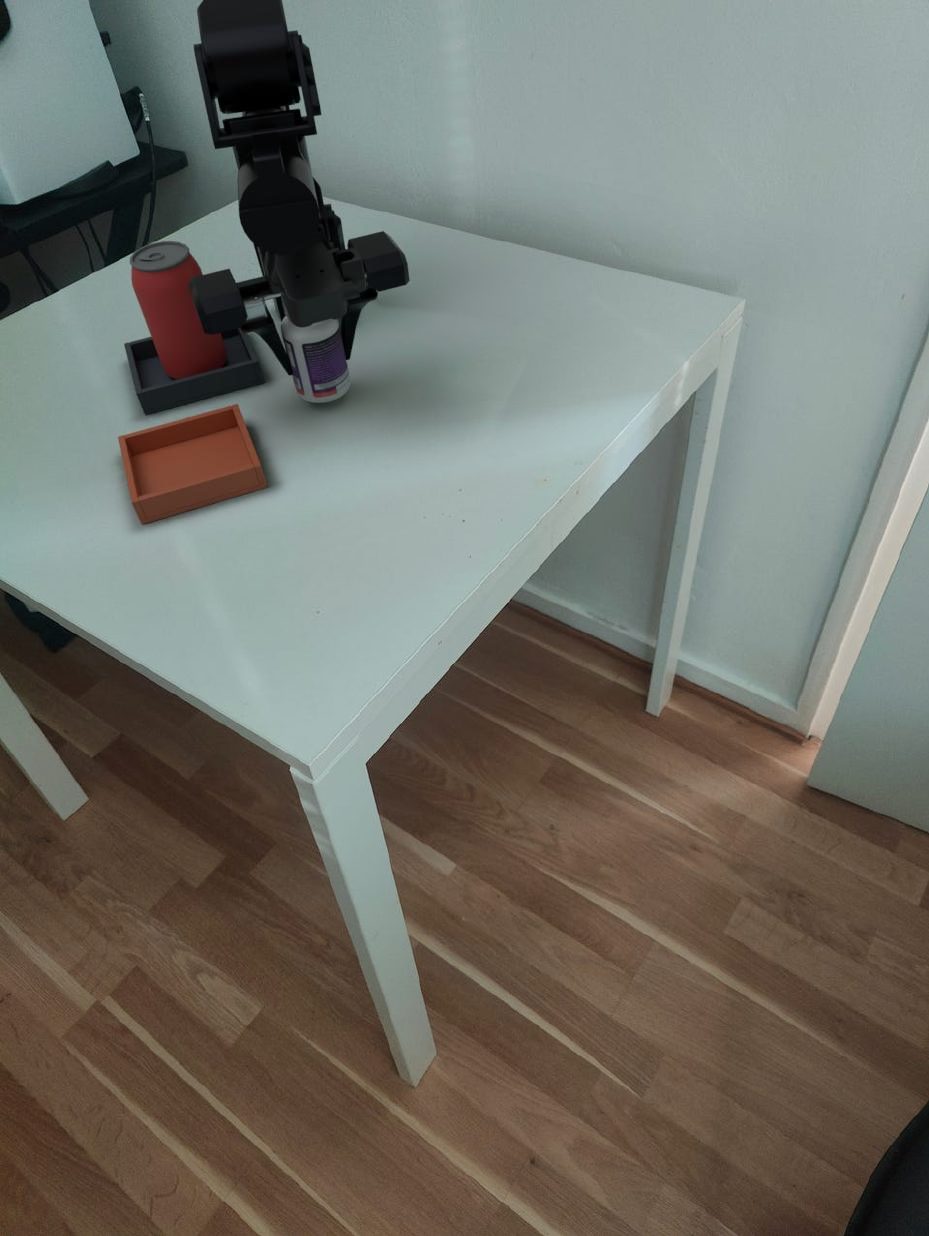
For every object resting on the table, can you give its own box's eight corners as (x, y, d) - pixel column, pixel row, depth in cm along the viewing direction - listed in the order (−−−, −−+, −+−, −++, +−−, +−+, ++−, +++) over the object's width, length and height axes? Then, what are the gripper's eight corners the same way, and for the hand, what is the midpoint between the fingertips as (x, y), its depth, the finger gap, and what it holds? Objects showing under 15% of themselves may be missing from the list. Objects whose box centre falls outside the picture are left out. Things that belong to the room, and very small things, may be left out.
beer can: (170, 352, 92) (130, 241, 83) (232, 346, 92) (198, 234, 83) (160, 387, 88) (117, 274, 79) (225, 381, 88) (189, 267, 79)
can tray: (244, 335, 94) (238, 314, 92) (265, 382, 88) (258, 360, 86) (132, 364, 92) (123, 343, 90) (145, 415, 85) (136, 393, 84)
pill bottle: (360, 376, 86) (343, 283, 78) (337, 408, 82) (317, 313, 75) (311, 369, 87) (289, 277, 80) (286, 400, 84) (262, 306, 76)
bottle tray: (244, 425, 83) (237, 403, 81) (268, 487, 77) (261, 464, 75) (127, 458, 81) (117, 436, 79) (141, 524, 74) (131, 502, 73)
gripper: (185, 267, 64) (240, 439, 76) (420, 211, 68) (438, 382, 79) (162, 210, 71) (216, 375, 83) (377, 161, 75) (399, 326, 86)
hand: (318, 365), depth 83 cm, fingers closed on pill bottle, 5 cm apart
